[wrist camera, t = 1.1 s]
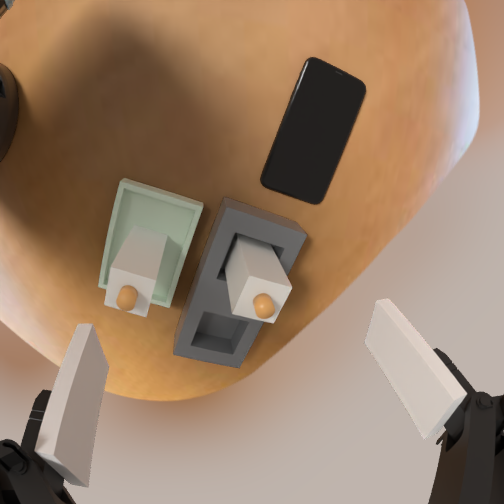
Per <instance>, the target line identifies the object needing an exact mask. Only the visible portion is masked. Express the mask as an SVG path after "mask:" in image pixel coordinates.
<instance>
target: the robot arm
mask: <svg viewBox="0 0 504 504" xmlns="http://www.w3.org/2000/svg"><path fill="white" fill-rule="evenodd" d="M14 1H15V0H0V19H1V17H2V16H3V15H4V14H5V12H6V11H7V10H10V8H11V7H12V6H13V2H14ZM17 118H18V91H17V86H16V83H15V80H14V78H13V75H12V74H11V72H10V71H9V69H8V68H7V67H6V66H4V65H3V64H1V63H0V161H1V160H2V159H3V157H4V156H5V154H6V152H7V150H8V148H9V146H10V144H11V141H12V139H13V136H14V132H15V128H16V124H17ZM364 343H365V345H366V346H367V348H368V349H369V351H370V352H371V354H372V356H373V357H374V359H375V360H376V362H377V363H378V365H379V366H380V368H381V369H382V371H383V373H384V374H385V376H386V377H387V379H388V381H389V382H390V384H391V386H392V387H393V389H394V390H395V392H396V394H397V395H398V397H399V398H400V400H401V402H402V403H403V405H404V407H405V408H406V410H407V412H408V413H409V415H410V416H411V418H412V420H413V422H414V423H415V425H416V427H417V428H418V430H419V432H420V434H421V435H422V437H423V439H424V440H425V439H427V438H429V437H431V436H433V435H435V434H437V433H438V432H439V431H440V429H441V428H442V427H443V426H444V427H445V428H446V431H445V432H444V433H443V434H442V436H441V437H440V438H439V439H438V440H437V442H436V444H437V445H438V444H439V443H440V442H441V441H442V439H443V442H442V444H441V445H442V447H441V453H440V458H439V463H438V467H437V472H436V477H435V480H434V484H433V488H432V493H431V496H430V499H429V503H428V504H504V431H503V430H504V395H501V396H495V397H491V396H490V395H489V394H487V393H485V392H476V391H475V390H474V389H473V387H472V386H471V385H470V384H469V382H468V381H467V380H466V378H465V377H464V376H463V375H462V373H461V372H460V371H459V370H457V367H456V366H455V365H454V364H453V363H452V361H451V360H450V359H449V357H448V356H447V355H446V354H445V353H443V352H442V351H440V350H439V349H438V348H436V349H432V348H431V347H430V346H429V345H428V343H427V342H426V341H425V340H424V339H423V337H422V336H421V335H420V334H419V333H418V331H417V330H416V329H415V328H414V327H413V326H412V324H411V323H410V322H409V321H408V320H407V319H406V317H405V316H404V315H403V314H402V313H401V312H400V310H399V309H398V308H397V307H396V306H395V305H394V304H393V302H392V301H391V300H390V299H389V298H388V299H382V300H377V301H376V303H375V307H374V311H373V314H372V318H371V321H370V325H369V329H368V331H367V335H366V338H365V341H364ZM108 370H109V365H108V363H107V360H106V358H105V355H104V353H103V350H102V347H101V345H100V342H99V339H98V337H97V334H96V331H95V328H94V325H93V324H78V325H77V327H76V330H75V332H74V335H73V337H72V339H71V342H70V344H69V347H68V349H67V352H66V354H65V357H64V359H63V362H62V365H61V367H60V370H59V373H58V375H57V378H56V381H55V384H54V387H53V390H52V391H49V390H42V392H41V393H40V394H39V395H38V397H37V398H36V399H35V402H34V405H33V407H32V411H31V414H30V416H29V418H30V419H29V420H28V423H27V426H26V429H25V432H24V436H23V439H22V443H21V446H19V445H18V444H17V443H16V442H15V441H13V440H9V439H5V440H2V441H0V504H76V503H75V502H74V500H73V499H72V497H71V495H70V494H69V492H68V491H67V489H66V488H65V487H64V486H63V483H64V479H65V480H66V481H68V482H69V483H70V484H72V485H78V486H83V487H88V486H89V477H90V468H91V461H92V460H91V459H92V453H93V447H94V440H95V434H96V427H97V423H98V417H99V411H100V407H101V402H102V396H103V392H104V387H105V383H106V378H107V374H108Z"/></svg>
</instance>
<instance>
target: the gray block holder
mask: <svg viewBox="0 0 504 504" xmlns="http://www.w3.org/2000/svg"><path fill="white" fill-rule="evenodd" d="M306 237H307V234H306V233H305V231H304V230H303V229H302V228H301V227H300V225H299V224H298V223H297V222H295V221H292V220H290V219H287V218H284V217H281V216H279V215H276V214H273V213H270V212H267V211H265V210H262V209H259V208H256V207H253V206H250V205H248V204H245V203H242V202H239V201H236V200H233V199H230V198H227V197H224V198H223V200H222V203H221V205H220V208H219V211H218V213H217V216H216V219H215V221H214V224H213V227H212V229H211V232H210V235H209V237H208V240H207V243H206V245H205V248H204V251H203V254H202V256H201V259H200V262H199V265H198V268H197V270H196V273H195V276H194V279H193V282H192V285H191V287H190V290H189V293H188V296H187V299H186V302H185V305H184V308H183V311H182V314H181V317H180V320H179V323H178V326H177V329H176V332H175V336H174V349H173V355H177V356H182V357H186V358H190V359H195V360H200V361H204V362H209V363H214V364H219V365H225V366H230V367H236V368H240V366H241V364H242V362H243V360H244V359H245V357H246V355H247V353H248V351H249V349H250V347H251V346H252V344H253V342H254V340H255V338H256V336H257V334H258V332H259V330H260V329H261V327H262V325H263V323H264V322H269V323H273V324H274V322H275V320H276V318H277V316H278V314H279V312H280V311H281V309H282V307H283V305H284V303H285V301H286V299H287V297H288V295H289V293H290V292H291V290H292V286H291V284H290V282H289V280H288V278H287V276H288V274H289V272H290V270H291V268H292V266H293V263H294V261H295V259H296V257H297V255H298V253H299V251H300V249H301V247H302V245H303V243H304V241H305V239H306Z"/></svg>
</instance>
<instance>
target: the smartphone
mask: <svg viewBox="0 0 504 504" xmlns="http://www.w3.org/2000/svg"><path fill="white" fill-rule="evenodd" d="M365 92H366V86H365V84H364V83H363V82H362V81H361V80H359V79H358V78H356V77H354V76H352V75H350V74H348V73H347V72H345V71H343V70H341V69H339V68H337V67H335V66H333V65H331V64H329V63H327V62H325V61H323V60H321V59H318V58H315V57H310V58H308V59H307V60H306V61H305V63H304V65H303V68H302V70H301V72H300V75H299V78H298V80H297V82H296V85H295V87H294V90H293V92H292V95H291V97H290V101H289V103H288V106H287V108H286V111H285V114H284V116H283V119H282V121H281V124H280V126H279V129H278V132H277V134H276V137H275V139H274V142H273V145H272V147H271V150H270V153H269V155H268V158H267V161H266V163H265V166H264V168H263V171H262V174H261V177H260V181H261V184H262V185H263V186H264V187H265V188H268V189H270V190H273V191H276V192H279V193H282V194H285V195H288V196H291V197H294V198H296V199H299V200H302V201H305V202H308V203H311V204H318V203H320V202H321V201H322V200H323V198H324V196H325V193H326V191H327V189H328V186H329V184H330V181H331V179H332V177H333V174H334V172H335V169H336V167H337V164H338V162H339V159H340V157H341V155H342V152H343V150H344V147H345V145H346V142H347V140H348V137H349V134H350V132H351V129H352V127H353V124H354V122H355V119H356V117H357V114H358V111H359V109H360V106H361V103H362V101H363V98H364V95H365Z"/></svg>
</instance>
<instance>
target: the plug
mask: <svg viewBox="0 0 504 504" xmlns="http://www.w3.org/2000/svg"><path fill="white" fill-rule="evenodd" d="M167 236H168V235H166V234H163V233H160V232H156V231H153V230H150V229H147V228H144V227H140V226H137V225H134V226H133V228H132V229H131V231H130V233H129V234H128V236H127V238H126V240H125V241H124V243H123V245H122V247H121V249H120V250H119V252H118V254H117V256H116V258H115V260H114V261H113V263H112V265H111V268H110V273H109V279H108V284H107V290H106V297H105V303H104V305H106V306H110V307H113V308H116V309H119V310H123V311H126V312H129V313H133V314H136V315H140V316H143V317H147V313H148V309H149V306H150V302H151V298H152V294H153V290H154V287H155V283H156V279H157V275H158V271H159V267H160V263H161V259H162V255H163V251H164V248H165V244H166V240H167Z"/></svg>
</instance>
